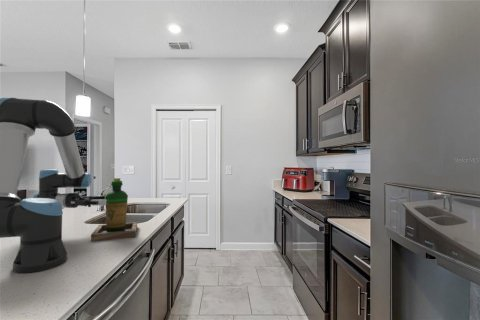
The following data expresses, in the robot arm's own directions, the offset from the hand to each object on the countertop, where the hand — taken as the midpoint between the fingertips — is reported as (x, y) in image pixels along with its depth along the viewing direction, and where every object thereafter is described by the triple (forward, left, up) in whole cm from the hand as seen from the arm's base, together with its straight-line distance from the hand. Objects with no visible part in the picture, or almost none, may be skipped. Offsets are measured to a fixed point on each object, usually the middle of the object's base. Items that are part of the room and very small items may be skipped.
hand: (112, 200), depth 125 cm
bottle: (-1, -2, -17) cm, 17 cm away
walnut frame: (-1, -2, -17) cm, 17 cm away
